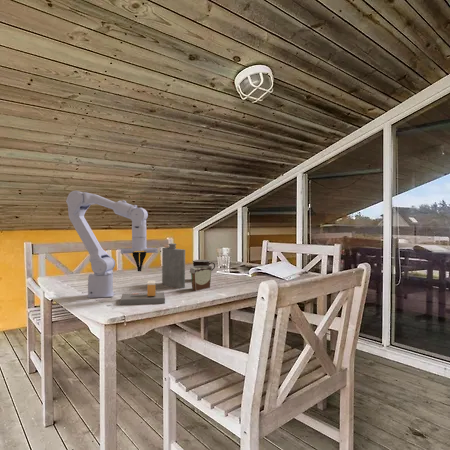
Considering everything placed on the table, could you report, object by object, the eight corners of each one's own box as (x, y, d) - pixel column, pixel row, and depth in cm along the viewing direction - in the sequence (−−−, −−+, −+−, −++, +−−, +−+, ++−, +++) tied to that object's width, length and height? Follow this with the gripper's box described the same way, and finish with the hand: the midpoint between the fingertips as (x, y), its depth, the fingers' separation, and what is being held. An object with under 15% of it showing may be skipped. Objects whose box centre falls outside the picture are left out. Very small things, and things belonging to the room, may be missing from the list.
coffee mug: (192, 281, 177) (192, 261, 177) (193, 278, 186) (193, 259, 186) (215, 281, 178) (215, 261, 177) (215, 278, 186) (215, 259, 186)
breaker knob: (147, 296, 132) (147, 283, 132) (147, 293, 137) (147, 281, 137) (155, 295, 133) (155, 283, 133) (155, 293, 138) (155, 280, 138)
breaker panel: (120, 305, 128) (120, 299, 128) (122, 298, 138) (122, 293, 138) (164, 303, 131) (164, 297, 131) (163, 297, 141) (163, 292, 141)
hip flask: (186, 287, 161) (186, 244, 161) (179, 288, 158) (179, 244, 158) (166, 282, 173) (166, 242, 172) (159, 283, 170) (159, 242, 169)
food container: (202, 285, 166) (202, 264, 166) (212, 287, 162) (212, 266, 162) (183, 289, 156) (183, 267, 156) (193, 291, 152) (193, 268, 152)
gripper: (119, 238, 136) (120, 273, 136) (157, 237, 139) (158, 271, 139) (121, 237, 143) (121, 270, 143) (157, 236, 146) (157, 269, 146)
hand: (139, 271), depth 142 cm, fingers closed
